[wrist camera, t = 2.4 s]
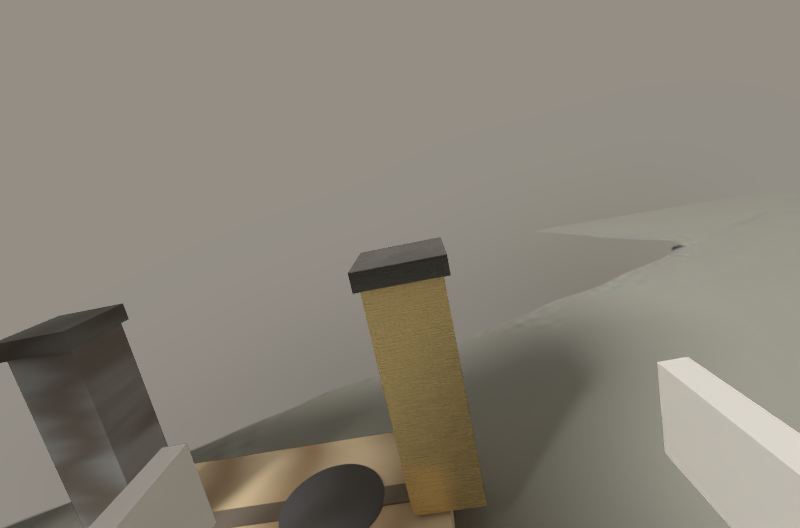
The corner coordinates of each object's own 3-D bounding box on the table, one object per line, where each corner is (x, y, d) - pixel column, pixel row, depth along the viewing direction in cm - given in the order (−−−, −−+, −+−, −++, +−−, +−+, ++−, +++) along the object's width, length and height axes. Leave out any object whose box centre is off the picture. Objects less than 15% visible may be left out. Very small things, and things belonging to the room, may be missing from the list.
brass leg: (407, 521, 22) (347, 273, 19) (408, 461, 26) (360, 252, 23) (493, 509, 21) (446, 254, 18) (479, 450, 26) (440, 237, 23)
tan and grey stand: (24, 677, 20) (-134, 390, 17) (167, 490, 32) (91, 299, 28) (466, 624, 18) (393, 291, 15) (446, 447, 30) (402, 237, 27)
